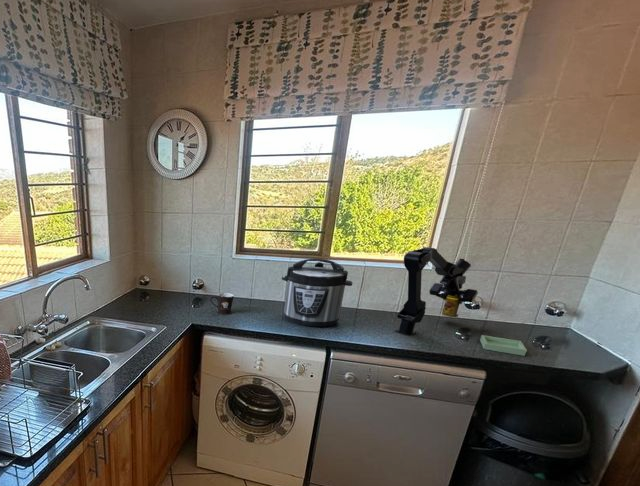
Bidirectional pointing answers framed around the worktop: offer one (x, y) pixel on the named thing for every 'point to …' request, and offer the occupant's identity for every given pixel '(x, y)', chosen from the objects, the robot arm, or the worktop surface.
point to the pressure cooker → (315, 293)
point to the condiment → (451, 306)
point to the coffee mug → (224, 302)
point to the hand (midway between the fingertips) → (454, 302)
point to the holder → (503, 345)
